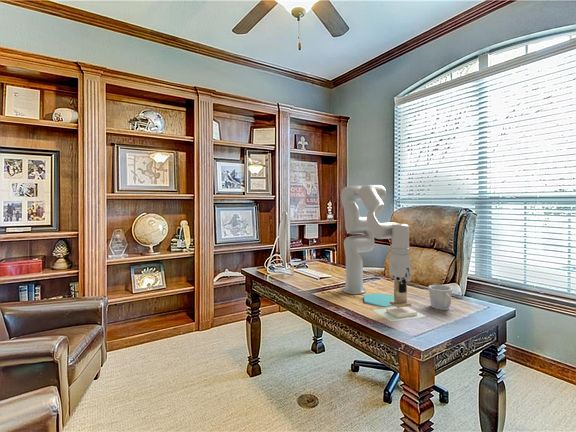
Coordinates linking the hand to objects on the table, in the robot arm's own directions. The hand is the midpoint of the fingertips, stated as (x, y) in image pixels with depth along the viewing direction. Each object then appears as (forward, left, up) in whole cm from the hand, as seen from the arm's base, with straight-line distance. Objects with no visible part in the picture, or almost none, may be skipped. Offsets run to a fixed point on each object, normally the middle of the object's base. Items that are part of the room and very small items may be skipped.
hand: (400, 291), depth 147 cm
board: (0, -1, -11) cm, 11 cm away
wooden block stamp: (0, 0, -6) cm, 6 cm away
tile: (-4, 0, -9) cm, 10 cm away
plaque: (-19, +2, -11) cm, 22 cm away
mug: (+1, +22, -11) cm, 25 cm away
